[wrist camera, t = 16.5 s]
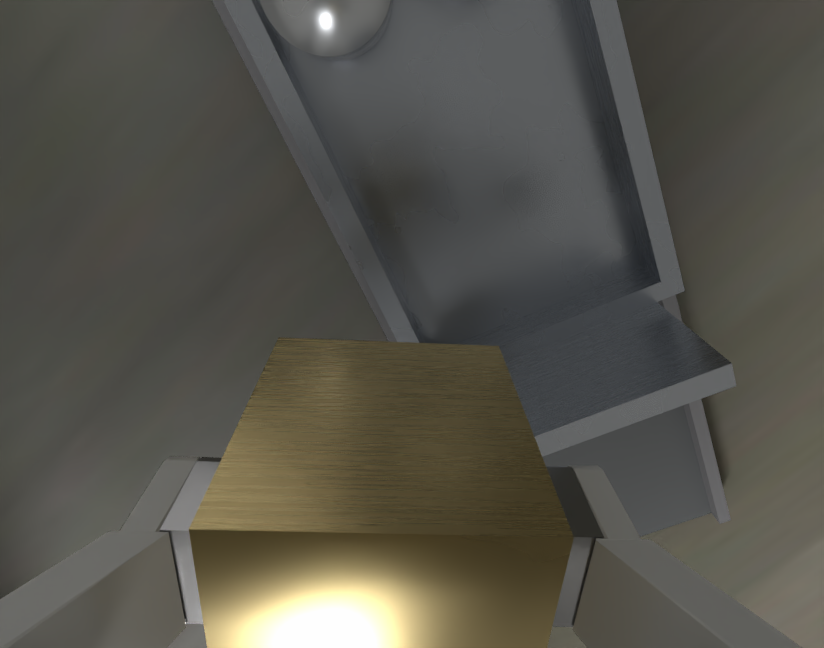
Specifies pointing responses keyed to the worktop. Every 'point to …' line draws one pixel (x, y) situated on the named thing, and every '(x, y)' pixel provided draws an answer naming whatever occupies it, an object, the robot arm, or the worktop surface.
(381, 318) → the track
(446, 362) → the wooden block
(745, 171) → the worktop surface
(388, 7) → the steel puck
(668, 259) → the long grey tray
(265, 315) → the worktop surface
